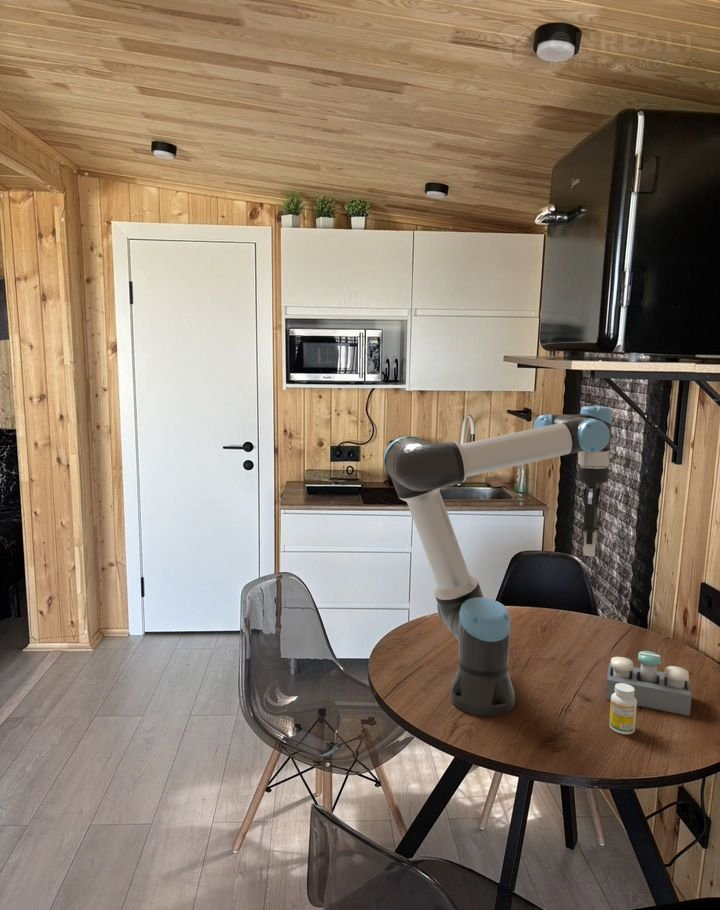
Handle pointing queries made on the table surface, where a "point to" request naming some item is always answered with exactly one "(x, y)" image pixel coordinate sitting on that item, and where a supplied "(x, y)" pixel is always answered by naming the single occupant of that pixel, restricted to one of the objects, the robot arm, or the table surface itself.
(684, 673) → the knob
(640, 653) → the dial mid
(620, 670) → the knob
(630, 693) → the supplement bottle
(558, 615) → the table surface
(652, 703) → the grey slotted rack
